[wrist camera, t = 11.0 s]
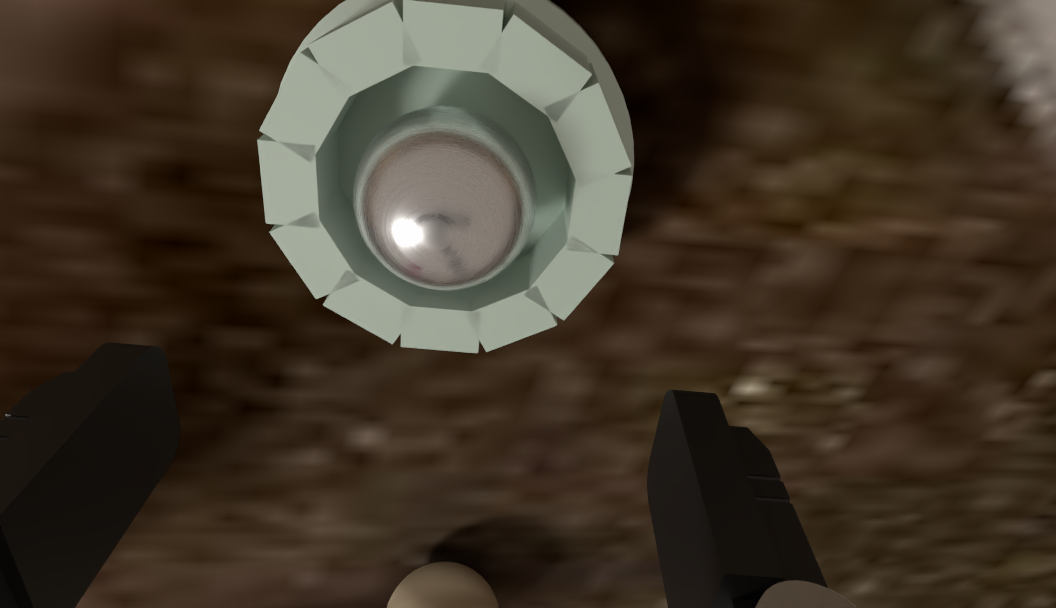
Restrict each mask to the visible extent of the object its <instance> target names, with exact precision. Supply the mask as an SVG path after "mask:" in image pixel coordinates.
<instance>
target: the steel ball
mask: <svg viewBox="0 0 1056 608" xmlns="http://www.w3.org/2000/svg"><path fill="white" fill-rule="evenodd" d="M353 206H354V213H355V217H356V222H357V225H358V228H359V230H360V233H361V236H362V238H363V240H364V241H365V243H366V245H367V247H368V248H369V250H370V251H371V252H372V254H373V255H374V256H375V257H376V258H377V259H378V261H379V262H380V263H381V264H382V265H383V266H384V267H386V268H387V269H388V270H389V271H390V272H392V273H393V274H395V275H396V276H398V277H399V278H401V279H403V280H405V281H407V282H409V283H411V284H414V285H416V286H420V287H423V288H427V289H433V290H446V291H449V290H460V289H465V288H470V287H473V286H476V285H479V284H482V283H484V282H486V281H488V280H490V279H492V278H493V277H495V276H496V275H498V274H500V273H501V272H502V271H503V270H504V269H506V268H507V267H508V266H509V265H510V264H511V263H512V262H513V261H514V260H515V259H516V258H517V256H518V255H519V254H520V252H521V251H522V249H523V248H524V246H525V244H526V242H527V240H528V238H529V236H530V234H531V231H532V228H533V225H534V221H535V215H536V210H537V191H536V183H535V179H534V175H533V171H532V168H531V166H530V163H529V160H528V159H527V157H526V155H525V153H524V151H523V150H522V148H521V147H520V145H519V144H518V143H517V141H516V140H515V139H514V138H513V137H512V136H511V135H510V133H509V132H508V131H507V130H506V129H504V128H503V127H502V126H501V125H499V124H498V123H497V122H495V121H494V120H492V119H490V118H489V117H487V116H485V115H483V114H481V113H478V112H476V111H473V110H470V109H466V108H462V107H456V106H431V107H426V108H422V109H418V110H414V111H412V112H409V113H406V114H404V115H402V116H400V117H399V118H397V119H395V120H393V121H392V122H391V123H389V124H388V125H387V126H386V127H384V128H383V129H382V130H381V131H380V132H379V133H378V134H377V135H376V136H375V137H374V138H373V140H372V141H371V143H370V144H369V145H368V147H367V148H366V150H365V152H364V154H363V156H362V158H361V160H360V162H359V165H358V168H357V171H356V175H355V180H354V187H353Z"/></svg>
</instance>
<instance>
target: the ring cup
mask: <svg viewBox="0 0 1056 608" xmlns="http://www.w3.org/2000/svg"><path fill="white" fill-rule="evenodd" d="M431 106H456V107H462V108H466V109H470V110H473V111H476V112H478V113H481V114H483V115H485V116H487V117H489V118H490V119H492V120H494V121H495V122H497V123H498V124H499V125H501V126H502V127H503V128H504V129H506V130H507V131H508V132H509V133H510V135H511V136H512V137H513V138H514V139H515V140H516V141H517V143H518V144H519V145H520V147H521V148H522V150H523V151H524V153H525V155H526V157H527V159H528V160H529V163H530V166H531V168H532V171H533V175H534V179H535V183H536V191H537V210H536V215H535V221H534V225H533V228H532V231H531V234H530V236H529V238H528V240H527V242H526V244H525V246H524V248H523V249H522V251H521V252H520V254H519V255H518V256H517V258H516V259H515V260H514V261H513V262H512V263H511V264H510V265H509V266H508V267H507V268H506V269H504V270H503V271H502V272H501V273H500V274H498V275H496V276H495V277H493V278H492V279H490V280H488V281H486V282H484V283H482V284H479V285H476V286H473V287H470V288H465V289H460V290H449V291H446V290H433V289H427V288H423V287H420V286H416V285H414V284H411V283H409V282H407V281H405V280H403V279H401V278H399V277H398V276H396V275H395V274H393V273H392V272H390V271H389V270H388V269H387V268H386V267H384V266H383V265H382V264H381V263H380V262H379V261H378V259H377V258H376V257H375V256H374V255H373V254H372V252H371V251H370V250H369V248H368V247H367V245H366V243H365V241H364V240H363V238H362V236H361V233H360V230H359V228H358V225H357V222H356V217H355V213H354V206H353V187H354V180H355V175H356V171H357V168H358V165H359V162H360V160H361V158H362V156H363V154H364V152H365V150H366V148H367V147H368V145H369V144H370V143H371V141H372V140H373V138H374V137H375V136H376V135H377V134H378V133H379V132H380V131H381V130H382V129H383V128H384V127H386V126H387V125H388V124H389V123H391V122H392V121H393V120H395V119H397V118H399V117H400V116H402V115H404V114H406V113H409V112H412V111H414V110H418V109H422V108H426V107H431ZM259 131H261V132H263V133H264V135H262V136H261V137H260V138H259V139H258V140H257V141H258V151H259V160H260V170H261V180H262V190H263V200H264V210H265V220H266V223H267V224H275V225H274V227H273V228H272V229H271V230H270V232H269V233H270V234H271V235H272V237H273V238H274V240H275V241H276V243H277V244H278V245H279V247H280V248H281V250H282V251H283V253H284V254H285V255H286V257H287V258H288V260H289V261H290V263H291V264H292V265H293V267H294V268H295V270H296V271H297V273H298V274H299V275H300V277H301V278H302V280H303V281H304V283H305V284H306V285H307V287H308V288H309V290H310V291H311V293H312V294H313V295H314V297H315V298H316V299H318V298H320V297H323V296H325V295H327V294H328V296H327V298H326V300H325V302H324V304H323V306H325V307H327V308H329V309H330V310H332V311H334V312H336V313H338V314H339V315H341V316H343V317H345V318H347V319H348V320H350V321H352V322H354V323H355V324H357V325H359V326H361V327H363V328H364V329H366V330H368V331H370V332H371V333H373V334H375V335H377V336H379V337H380V338H382V339H384V340H386V341H388V342H389V343H391V344H393V343H394V341H395V340H396V339H397V337H398V336H399V335H400V333H401V347H409V348H421V349H433V350H445V351H457V352H469V353H478V349H479V340H480V342H481V344H482V345H483V347H484V349H485V351H486V352H488V351H491V350H493V349H496V348H499V347H501V346H504V345H507V344H509V343H512V342H514V341H517V340H520V339H522V338H525V337H528V336H530V335H533V334H536V333H538V332H541V331H543V330H546V329H549V328H551V327H554V326H557V316H558V317H559V318H561V319H562V320H565V319H566V318H567V317H568V316H569V314H570V313H571V312H572V311H573V310H574V309H575V307H576V306H577V305H578V304H579V303H580V302H581V301H582V299H583V298H584V297H585V296H586V295H587V294H588V293H589V291H590V290H591V289H592V288H593V287H594V286H595V285H596V283H597V282H598V281H599V280H600V279H601V278H602V277H603V275H604V274H605V273H606V272H607V271H608V270H609V269H610V267H611V266H612V265H613V264H614V260H613V256H612V255H618V253H619V247H620V242H621V236H622V231H623V225H624V220H625V214H626V209H627V203H628V199H629V195H630V191H631V187H632V179H633V170H634V140H633V134H632V128H631V122H630V116H629V113H628V110H627V107H626V103H625V100H624V97H623V94H622V92H621V89H620V87H619V85H618V83H617V81H616V79H615V76H614V74H613V72H612V70H611V68H610V66H609V64H608V62H607V61H606V59H605V57H604V56H603V54H602V53H601V51H600V50H599V48H598V46H597V45H596V43H595V42H594V41H593V40H592V39H591V37H590V36H589V35H588V34H587V33H586V32H585V30H584V29H583V28H582V27H581V26H580V25H579V24H578V23H577V22H576V21H575V20H574V19H573V18H572V17H571V16H569V15H568V14H567V13H566V12H565V11H564V10H563V9H562V8H560V7H559V6H558V5H556V4H555V3H553V2H552V1H550V0H346V1H344V2H343V3H341V4H339V5H338V6H337V7H336V8H335V9H333V10H332V11H331V12H330V13H329V14H328V15H326V16H325V17H324V18H323V19H322V20H321V21H319V23H318V24H317V25H316V26H315V27H314V28H313V30H312V31H311V32H310V33H309V34H308V35H307V37H306V38H305V39H304V40H303V42H302V43H301V45H300V47H299V48H298V50H297V51H296V53H295V55H294V56H293V58H292V59H291V61H290V64H289V66H288V68H287V70H286V73H285V75H284V77H283V80H282V82H281V85H280V89H279V93H278V95H277V97H276V99H275V101H274V103H273V105H272V107H271V109H270V111H269V113H268V114H267V116H266V118H265V120H264V122H263V124H262V126H261V128H260V130H259Z"/></svg>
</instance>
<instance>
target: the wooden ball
mask: <svg viewBox="0 0 1056 608" xmlns="http://www.w3.org/2000/svg"><path fill="white" fill-rule="evenodd" d="M387 608H499V607H498V603H497V600H496V597H495V595H494V593H493V591H492V589H491V587H490V586H489V584H488V583H487V582H486V581H485V579H484V578H483V577H482V576H481V575H480V574H478V573H477V572H476V571H474V570H473V569H471V568H469V567H467V566H465V565H462V564H459V563H455V562H448V561H443V562H435V563H430V564H427V565H424V566H422V567H420V568H418V569H416V570H414V571H413V572H412V573H410V574H409V575H408V576H407V577H405V578H404V579H403V580H402V582H401V583H400V584H399V585H398V586H397V588H396V589H395V591H394V592H393V594H392V596H391V598H390V600H389V602H388V605H387Z"/></svg>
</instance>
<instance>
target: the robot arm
mask: <svg viewBox="0 0 1056 608" xmlns="http://www.w3.org/2000/svg"><path fill="white" fill-rule="evenodd" d="M179 436H180V423H179V418H178V413H177V408H176V403H175V398H174V393H173V388H172V383H171V378H170V373H169V368H168V363H167V359H166V356H165V353H164V352H163V350H162V349H161V348H159V347H157V346H145V345H133V344H120V343H105V344H103V345H101V346H100V347H99V348H98V349H97V350H96V351H95V352H94V353H93V354H92V355H91V356H90V357H89V358H88V359H87V360H86V361H85V362H84V363H83V364H82V365H81V366H80V367H79V368H78V369H77V370H76V371H75V372H64V373H62V374H61V375H59V376H57V377H55V378H53V379H51V380H50V381H48V382H46V383H44V384H42V385H41V386H39V387H37V388H35V389H33V390H31V391H30V392H29V393H28V394H27V395H26V396H25V397H24V398H23V399H22V400H21V401H20V402H18V403H17V404H16V405H15V406H14V407H13V408H12V409H11V410H10V411H9V412H8V413H7V414H6V418H5V420H2V419H1V420H0V608H75V607H76V605H77V604H78V602H79V601H80V599H81V598H82V596H83V595H84V593H85V592H86V590H87V589H88V587H89V586H90V584H91V583H92V581H93V580H94V578H95V577H96V575H97V574H98V572H99V571H100V569H101V568H102V566H103V565H104V563H105V562H106V560H107V559H108V557H109V556H110V554H111V553H112V551H113V550H114V548H115V547H116V545H117V544H118V542H119V541H120V539H121V538H122V536H123V535H124V533H125V531H126V530H127V528H128V527H129V525H130V524H131V522H132V521H133V519H134V518H135V516H136V515H137V513H138V512H139V510H140V509H141V507H142V506H143V504H144V503H145V501H146V500H147V498H148V497H149V495H150V494H151V492H152V491H153V489H154V488H155V486H156V485H157V483H158V482H159V480H160V479H161V477H162V476H163V474H164V473H165V471H166V470H167V468H168V467H169V465H170V464H171V462H172V460H173V458H174V456H175V453H176V451H177V447H178V443H179ZM780 477H781V476H780V474H779V472H778V469H777V467H776V465H775V462H774V460H773V458H772V455H771V453H770V451H769V450H768V449H767V448H766V446H765V445H764V444H763V443H762V442H761V441H760V440H759V439H758V438H757V437H756V436H755V435H754V434H753V433H752V432H751V431H750V430H749V429H748V428H747V427H735V426H729V425H728V423H727V420H726V417H725V414H724V412H723V409H722V406H721V403H720V401H719V398H718V396H717V395H716V394H715V393H705V392H693V391H681V390H668V391H667V392H666V394H665V397H664V401H663V405H662V409H661V413H660V417H659V422H658V426H657V430H656V435H655V439H654V443H653V447H652V452H651V456H650V461H649V467H648V478H647V490H648V501H649V506H650V512H651V517H652V523H653V528H654V533H655V539H656V544H657V550H658V555H659V561H660V566H661V571H662V577H663V582H664V588H665V593H666V598H667V604H668V608H856V607H855V606H854V605H853V604H852V603H851V602H849V601H848V600H847V599H846V598H844V597H842V596H841V595H839V594H838V593H836V592H834V591H832V590H830V589H828V587H827V584H826V582H825V580H824V577H823V575H822V573H821V570H820V568H819V566H818V563H817V561H816V559H815V556H814V554H813V552H812V549H811V547H810V545H809V542H808V540H807V537H806V535H805V533H804V530H803V528H802V526H801V523H800V521H799V519H798V516H797V514H796V512H795V509H794V507H793V505H792V504H790V502H789V499H790V498H789V495H788V493H787V490H786V488H785V486H784V483H783V482H781V481H780Z"/></svg>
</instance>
